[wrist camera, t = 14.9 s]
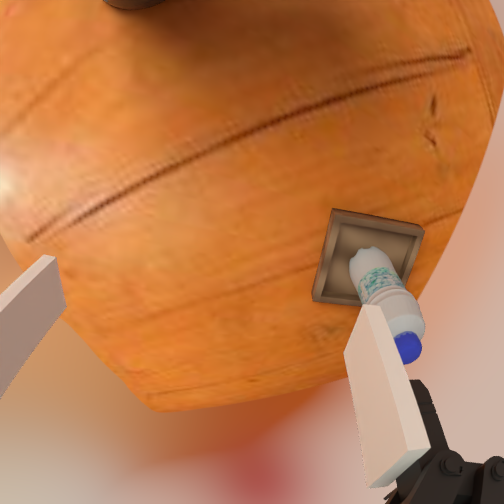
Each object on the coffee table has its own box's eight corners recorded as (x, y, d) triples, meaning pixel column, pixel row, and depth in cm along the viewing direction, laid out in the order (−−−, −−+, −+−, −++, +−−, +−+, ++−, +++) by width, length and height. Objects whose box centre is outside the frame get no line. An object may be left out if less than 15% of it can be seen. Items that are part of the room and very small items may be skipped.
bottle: (339, 276, 47) (368, 378, 29) (353, 237, 44) (396, 329, 26) (378, 283, 47) (420, 380, 29) (393, 245, 44) (450, 335, 26)
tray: (332, 208, 43) (335, 214, 41) (418, 224, 43) (425, 231, 41) (311, 292, 49) (312, 301, 47) (390, 301, 49) (394, 309, 47)
